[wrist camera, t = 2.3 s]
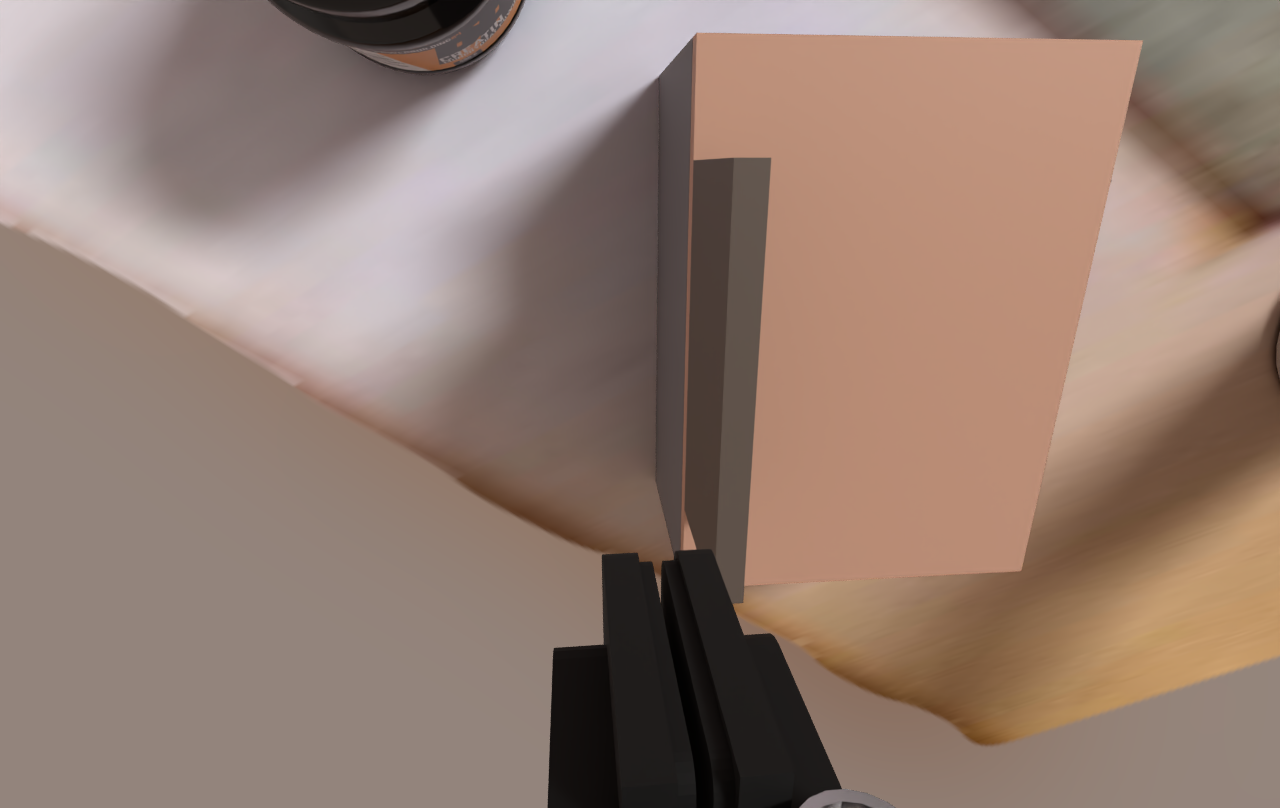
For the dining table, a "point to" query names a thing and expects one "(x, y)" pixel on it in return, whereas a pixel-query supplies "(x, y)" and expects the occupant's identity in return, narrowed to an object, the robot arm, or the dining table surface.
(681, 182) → the carton
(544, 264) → the dining table surface
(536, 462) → the dining table surface
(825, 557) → the lid
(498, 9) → the supplement container
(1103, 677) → the dining table surface
